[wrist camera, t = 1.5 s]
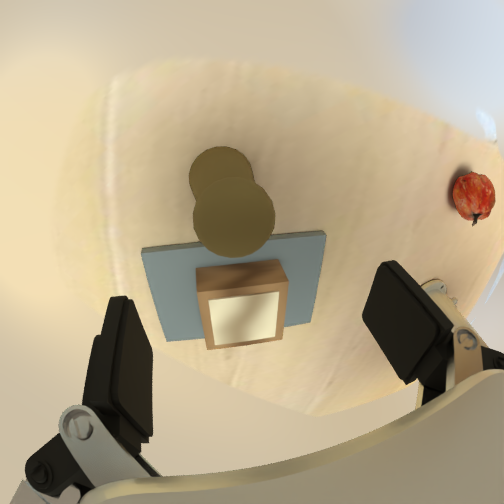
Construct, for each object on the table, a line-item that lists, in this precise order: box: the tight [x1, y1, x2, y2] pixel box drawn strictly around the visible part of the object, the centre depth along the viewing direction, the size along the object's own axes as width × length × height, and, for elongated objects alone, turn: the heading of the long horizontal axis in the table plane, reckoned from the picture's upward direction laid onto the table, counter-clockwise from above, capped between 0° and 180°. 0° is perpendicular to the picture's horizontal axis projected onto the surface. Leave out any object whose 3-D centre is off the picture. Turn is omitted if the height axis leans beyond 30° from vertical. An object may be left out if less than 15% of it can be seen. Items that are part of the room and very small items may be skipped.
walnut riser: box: [196, 259, 289, 350], centre depth 30 cm, size 9×9×4 cm
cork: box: [189, 147, 275, 258], centre depth 20 cm, size 6×6×11 cm
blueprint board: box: [141, 231, 326, 342], centre depth 32 cm, size 20×14×1 cm
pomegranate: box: [453, 172, 495, 227], centre depth 28 cm, size 7×7×10 cm
